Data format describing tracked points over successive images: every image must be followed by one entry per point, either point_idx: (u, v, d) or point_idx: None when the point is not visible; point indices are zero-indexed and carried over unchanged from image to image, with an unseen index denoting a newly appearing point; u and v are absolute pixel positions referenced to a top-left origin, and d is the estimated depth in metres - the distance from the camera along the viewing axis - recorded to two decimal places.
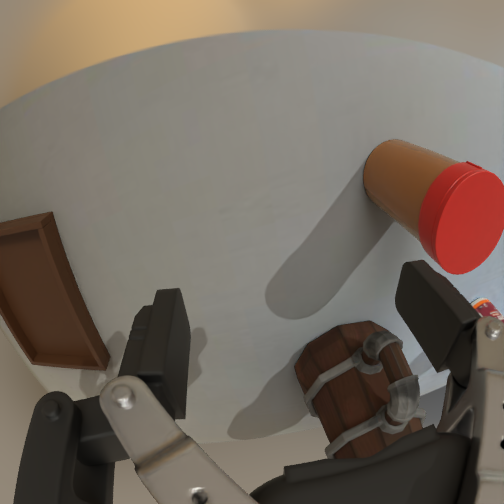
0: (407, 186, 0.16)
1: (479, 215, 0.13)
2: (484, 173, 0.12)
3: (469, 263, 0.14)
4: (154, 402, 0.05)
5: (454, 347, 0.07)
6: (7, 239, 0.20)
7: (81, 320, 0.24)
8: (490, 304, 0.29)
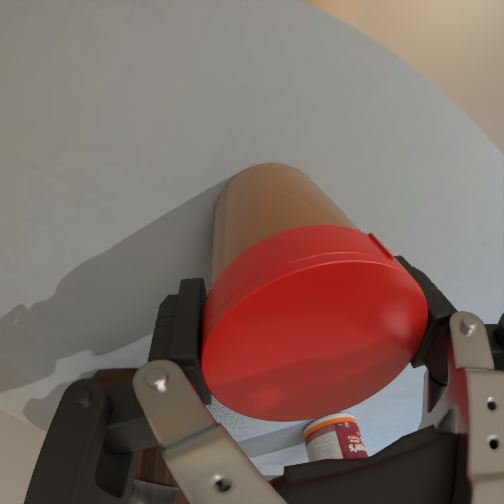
0: (234, 231, 0.10)
1: (339, 349, 0.07)
2: (391, 271, 0.06)
3: (287, 412, 0.09)
4: (190, 384, 0.06)
5: (429, 342, 0.07)
6: None
7: None
8: (354, 426, 0.26)
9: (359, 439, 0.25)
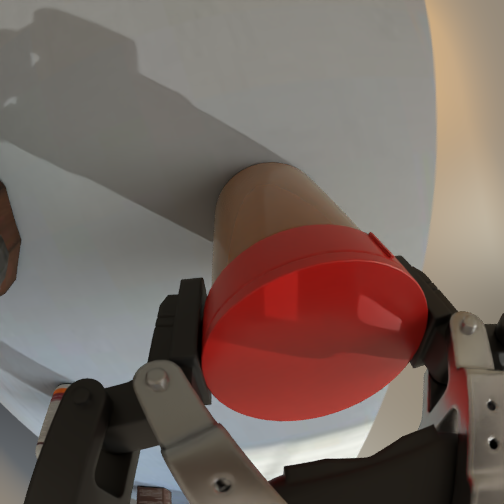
0: (309, 202, 0.10)
1: (339, 348, 0.07)
2: (392, 271, 0.06)
3: (287, 411, 0.09)
4: (190, 384, 0.06)
5: (429, 342, 0.07)
6: None
7: None
8: None
9: None
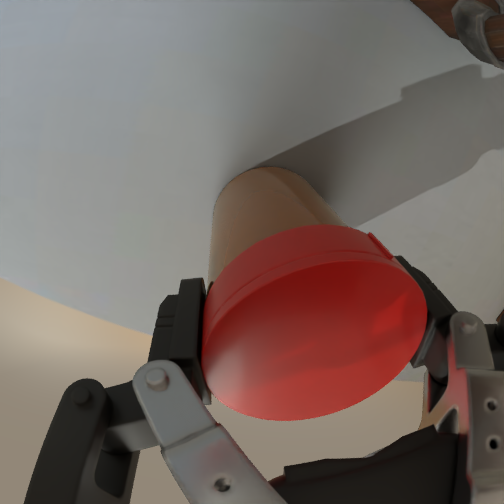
0: None
1: (339, 348, 0.07)
2: (391, 270, 0.06)
3: (287, 411, 0.09)
4: (190, 384, 0.06)
5: (429, 342, 0.07)
6: None
7: None
8: None
9: None
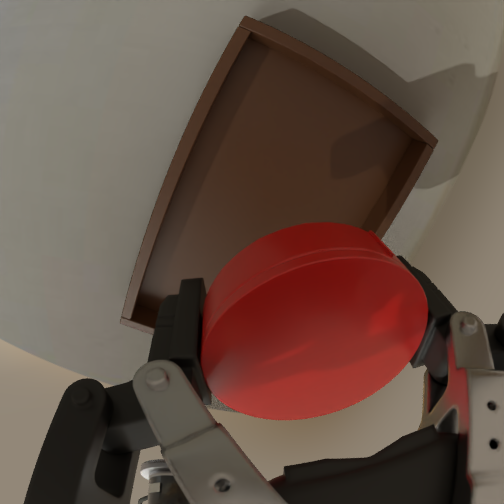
0: None
1: (339, 346, 0.07)
2: (392, 268, 0.06)
3: (287, 410, 0.08)
4: (190, 383, 0.06)
5: (429, 342, 0.07)
6: None
7: None
8: None
9: None
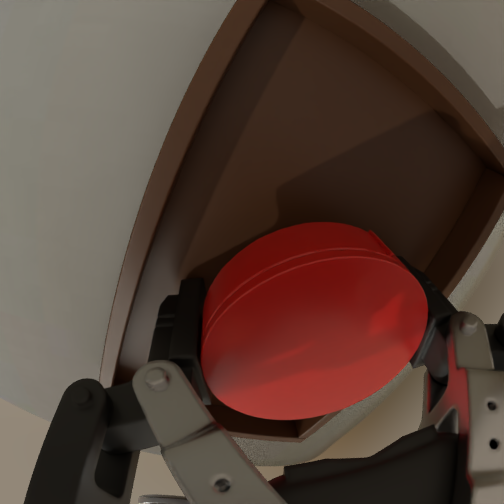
0: None
1: (339, 346, 0.07)
2: (391, 268, 0.06)
3: (287, 410, 0.09)
4: (190, 384, 0.06)
5: (429, 342, 0.07)
6: None
7: None
8: None
9: None
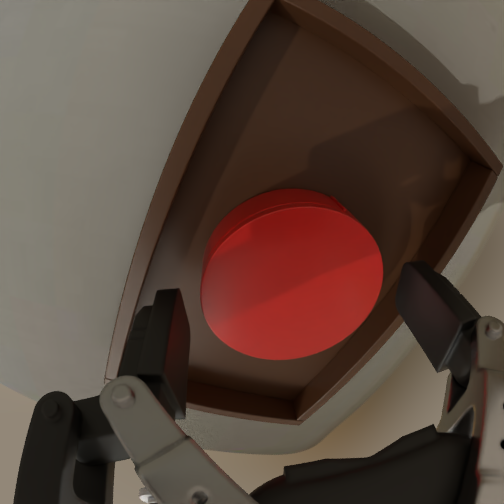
0: None
1: (308, 283, 0.10)
2: (342, 217, 0.09)
3: (271, 348, 0.11)
4: (154, 402, 0.05)
5: (454, 347, 0.07)
6: (230, 378, 0.15)
7: None
8: None
9: None
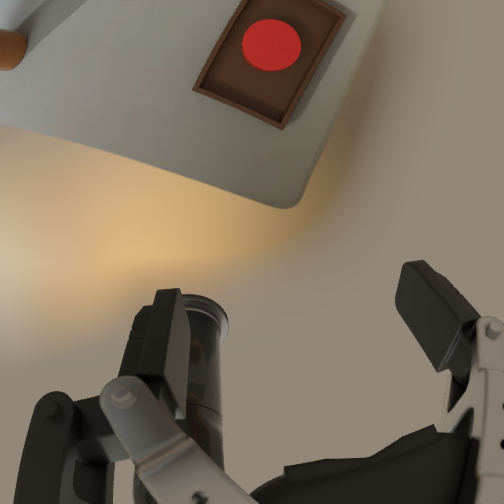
0: None
1: (275, 39, 0.26)
2: (283, 22, 0.25)
3: (265, 63, 0.27)
4: (154, 402, 0.05)
5: (454, 347, 0.07)
6: (248, 99, 0.31)
7: (233, 14, 0.25)
8: None
9: None
